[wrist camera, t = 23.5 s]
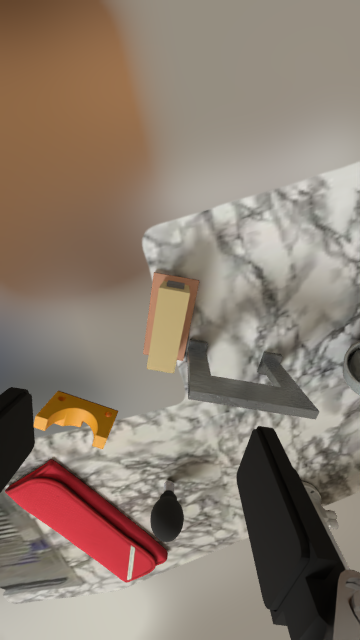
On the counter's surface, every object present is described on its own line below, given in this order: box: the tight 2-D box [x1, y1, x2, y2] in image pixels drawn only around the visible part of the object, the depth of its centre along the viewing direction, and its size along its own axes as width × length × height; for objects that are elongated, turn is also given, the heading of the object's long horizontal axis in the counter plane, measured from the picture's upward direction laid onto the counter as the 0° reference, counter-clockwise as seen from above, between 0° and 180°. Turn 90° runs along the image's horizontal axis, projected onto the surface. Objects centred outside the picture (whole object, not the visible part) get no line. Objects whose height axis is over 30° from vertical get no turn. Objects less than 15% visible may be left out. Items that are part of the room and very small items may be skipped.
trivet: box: [143, 272, 199, 361], centre depth 35 cm, size 7×14×1 cm, turn 170°
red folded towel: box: [5, 459, 168, 582], centre depth 51 cm, size 16×41×4 cm, turn 37°
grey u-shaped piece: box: [186, 339, 319, 419], centre depth 31 cm, size 16×4×12 cm, turn 80°
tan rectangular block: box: [147, 280, 190, 373], centre depth 31 cm, size 4×12×6 cm, turn 170°
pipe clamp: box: [34, 391, 118, 449], centre depth 39 cm, size 12×4×6 cm, turn 68°
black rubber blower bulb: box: [151, 481, 184, 542], centre depth 43 cm, size 6×6×10 cm
